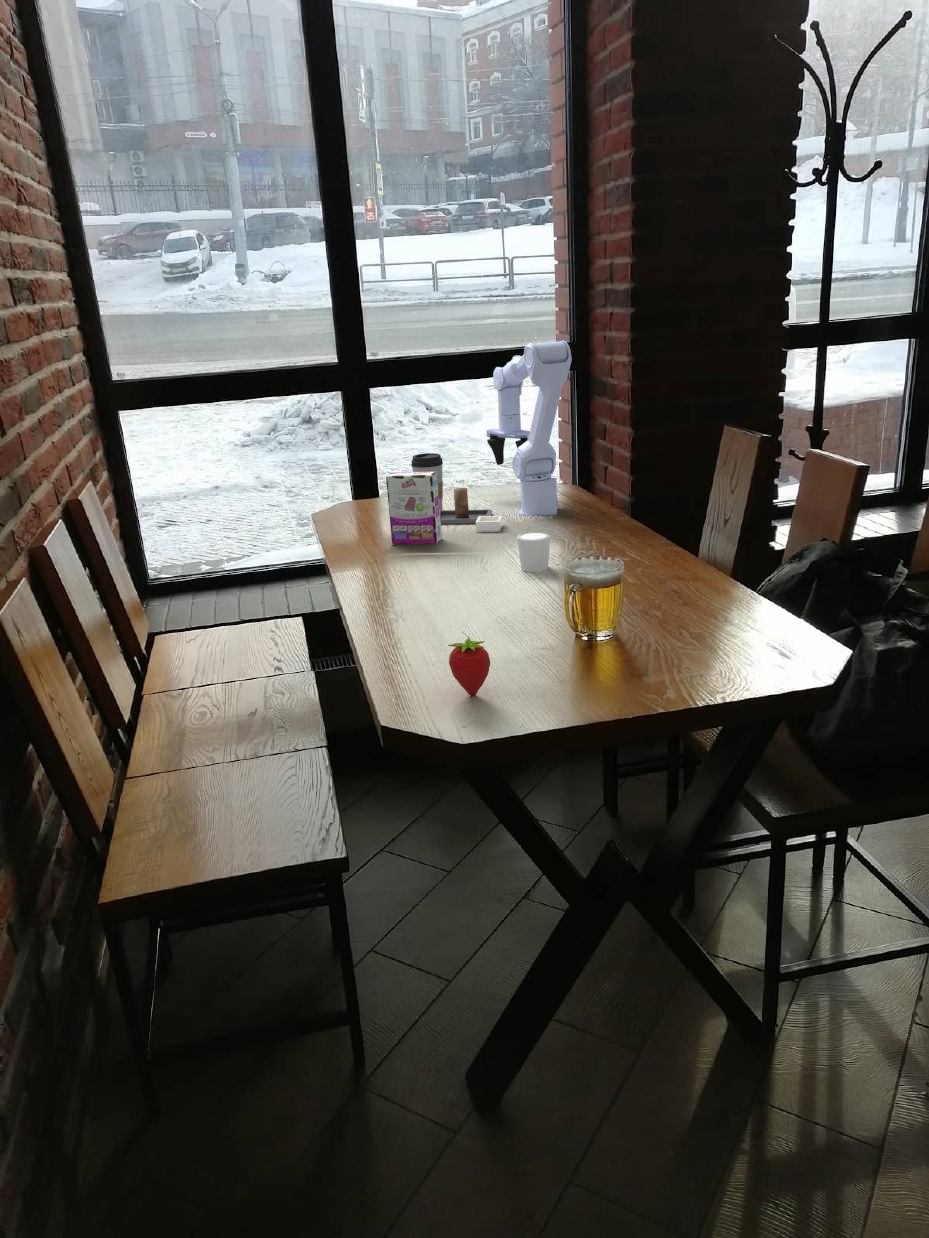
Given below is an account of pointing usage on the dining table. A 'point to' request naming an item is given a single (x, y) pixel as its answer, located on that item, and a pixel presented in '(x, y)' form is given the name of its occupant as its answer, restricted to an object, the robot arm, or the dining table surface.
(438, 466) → the coffee cup
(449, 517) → the tray
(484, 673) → the strawberry
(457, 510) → the dowel
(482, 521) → the white square frame
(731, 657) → the dining table surface
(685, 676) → the dining table surface
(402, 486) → the candy bar box
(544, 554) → the white tapered cylinder
